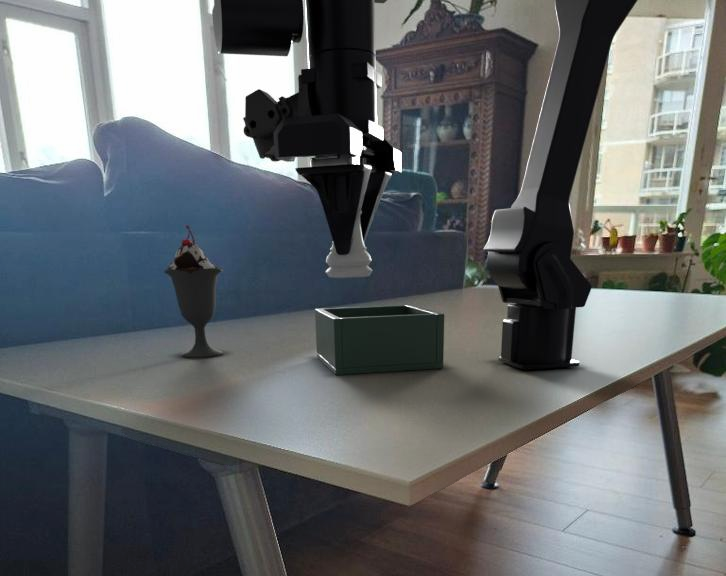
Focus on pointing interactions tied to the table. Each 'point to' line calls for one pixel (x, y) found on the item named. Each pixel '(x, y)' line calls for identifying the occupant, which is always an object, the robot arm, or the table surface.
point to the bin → (379, 339)
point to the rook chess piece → (350, 259)
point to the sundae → (195, 292)
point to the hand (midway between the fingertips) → (349, 253)
